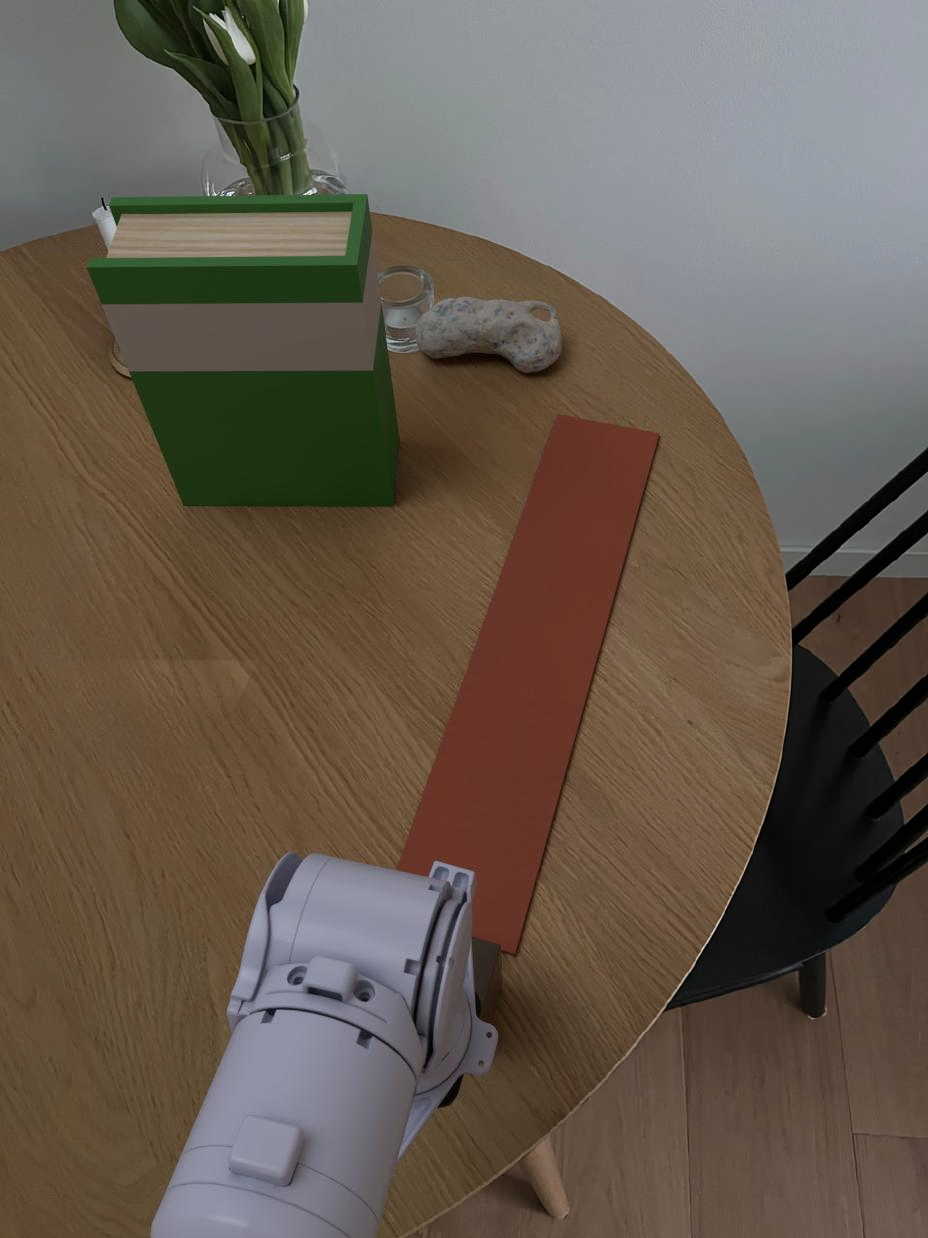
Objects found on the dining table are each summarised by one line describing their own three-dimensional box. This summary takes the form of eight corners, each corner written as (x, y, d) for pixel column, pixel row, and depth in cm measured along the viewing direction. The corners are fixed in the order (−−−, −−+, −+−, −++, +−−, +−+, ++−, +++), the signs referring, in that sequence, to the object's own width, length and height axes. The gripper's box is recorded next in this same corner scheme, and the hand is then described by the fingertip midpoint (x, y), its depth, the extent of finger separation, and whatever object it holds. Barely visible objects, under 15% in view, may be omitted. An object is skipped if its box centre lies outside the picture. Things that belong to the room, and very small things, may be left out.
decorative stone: (414, 381, 96) (409, 338, 91) (417, 331, 99) (413, 286, 95) (562, 379, 95) (564, 335, 91) (559, 328, 99) (561, 283, 94)
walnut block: (482, 1054, 64) (478, 1023, 57) (413, 1032, 64) (401, 999, 58) (502, 982, 66) (501, 944, 59) (435, 962, 67) (426, 922, 60)
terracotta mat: (515, 956, 67) (515, 954, 66) (380, 916, 68) (380, 914, 68) (659, 436, 91) (659, 432, 90) (556, 416, 92) (557, 413, 92)
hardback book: (183, 505, 89) (86, 267, 69) (198, 440, 93) (111, 197, 73) (393, 506, 88) (357, 264, 68) (399, 440, 92) (367, 193, 72)
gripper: (433, 1242, 38) (457, 1238, 50) (538, 861, 45) (537, 936, 56) (253, 1178, 39) (318, 1188, 51) (381, 817, 46) (412, 899, 58)
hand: (424, 1053), depth 54 cm, fingers closed
